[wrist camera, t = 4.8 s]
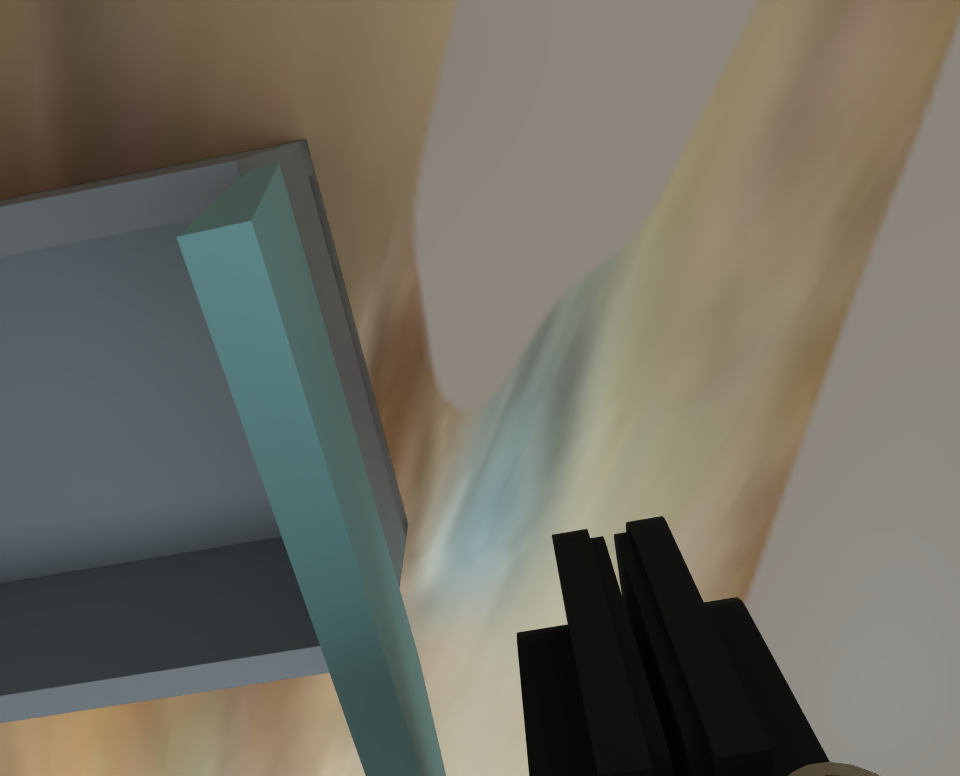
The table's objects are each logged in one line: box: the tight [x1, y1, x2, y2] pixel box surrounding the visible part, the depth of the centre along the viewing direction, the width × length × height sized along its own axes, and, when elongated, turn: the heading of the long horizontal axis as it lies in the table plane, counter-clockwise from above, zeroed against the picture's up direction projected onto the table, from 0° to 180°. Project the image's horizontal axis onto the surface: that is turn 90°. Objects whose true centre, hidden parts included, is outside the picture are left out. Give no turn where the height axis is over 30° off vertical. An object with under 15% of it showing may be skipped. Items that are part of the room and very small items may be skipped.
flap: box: [177, 163, 446, 776], centre depth 13 cm, size 14×10×1 cm
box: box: [0, 140, 408, 723], centre depth 21 cm, size 14×20×7 cm
